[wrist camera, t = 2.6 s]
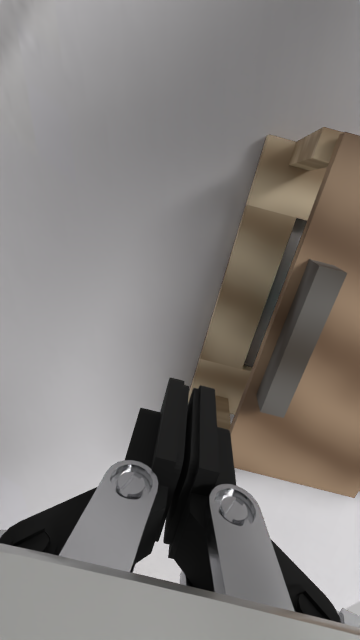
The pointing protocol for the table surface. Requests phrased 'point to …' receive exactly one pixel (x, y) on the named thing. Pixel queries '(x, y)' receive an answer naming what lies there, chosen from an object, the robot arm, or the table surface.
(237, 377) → the light wood slatted frame
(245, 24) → the table surface
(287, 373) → the walnut lid
